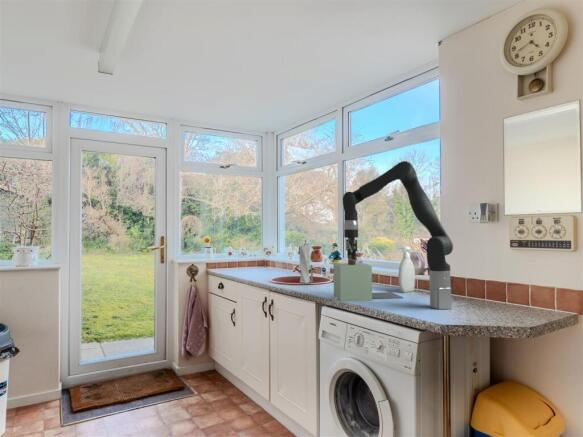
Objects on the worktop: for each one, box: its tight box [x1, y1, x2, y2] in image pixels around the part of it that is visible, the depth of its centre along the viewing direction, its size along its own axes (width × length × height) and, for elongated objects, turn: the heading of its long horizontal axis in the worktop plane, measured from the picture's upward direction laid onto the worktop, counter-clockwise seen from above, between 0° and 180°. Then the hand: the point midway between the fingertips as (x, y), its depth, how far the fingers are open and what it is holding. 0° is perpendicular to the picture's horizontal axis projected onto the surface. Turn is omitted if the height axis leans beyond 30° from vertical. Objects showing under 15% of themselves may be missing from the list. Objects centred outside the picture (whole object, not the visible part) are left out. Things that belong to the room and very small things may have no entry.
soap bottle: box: [397, 245, 416, 294], centre depth 227 cm, size 14×8×27 cm, turn 130°
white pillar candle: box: [299, 242, 314, 285], centre depth 269 cm, size 8×8×28 cm
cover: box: [333, 255, 373, 302], centre depth 207 cm, size 17×17×23 cm
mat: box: [372, 291, 404, 300], centre depth 213 cm, size 17×17×1 cm
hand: (351, 258), depth 207 cm, fingers open, 8 cm apart
